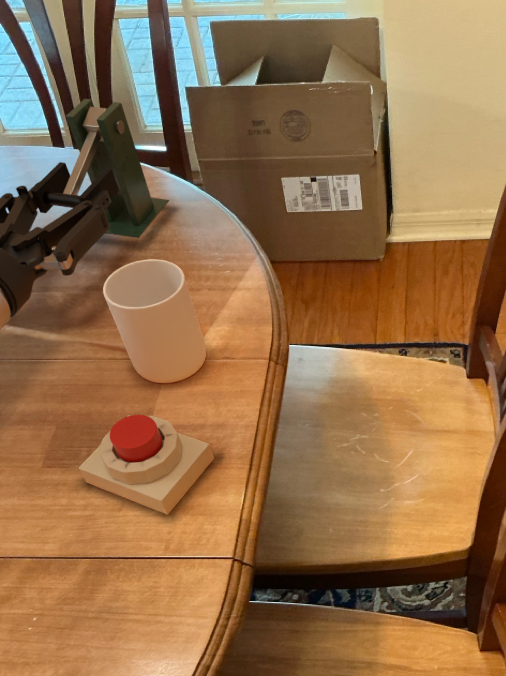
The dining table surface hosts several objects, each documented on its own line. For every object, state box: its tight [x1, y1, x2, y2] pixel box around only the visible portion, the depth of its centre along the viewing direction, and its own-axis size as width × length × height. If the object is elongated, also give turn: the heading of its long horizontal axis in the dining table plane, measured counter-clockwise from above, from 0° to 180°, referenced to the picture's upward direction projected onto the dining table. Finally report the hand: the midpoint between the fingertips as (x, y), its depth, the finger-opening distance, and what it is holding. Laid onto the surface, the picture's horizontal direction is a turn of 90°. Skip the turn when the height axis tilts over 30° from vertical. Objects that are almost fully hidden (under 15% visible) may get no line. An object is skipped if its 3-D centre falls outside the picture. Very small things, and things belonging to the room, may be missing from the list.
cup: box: [102, 258, 207, 384], centre depth 84 cm, size 8×12×10 cm
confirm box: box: [78, 414, 215, 516], centre depth 75 cm, size 10×8×4 cm
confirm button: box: [109, 414, 163, 463], centre depth 73 cm, size 4×4×2 cm
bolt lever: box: [43, 106, 108, 209], centre depth 91 cm, size 13×6×2 cm, turn 164°
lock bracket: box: [65, 98, 170, 239], centre depth 97 cm, size 9×7×15 cm
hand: (89, 176), depth 93 cm, fingers closed on bolt lever, 5 cm apart
